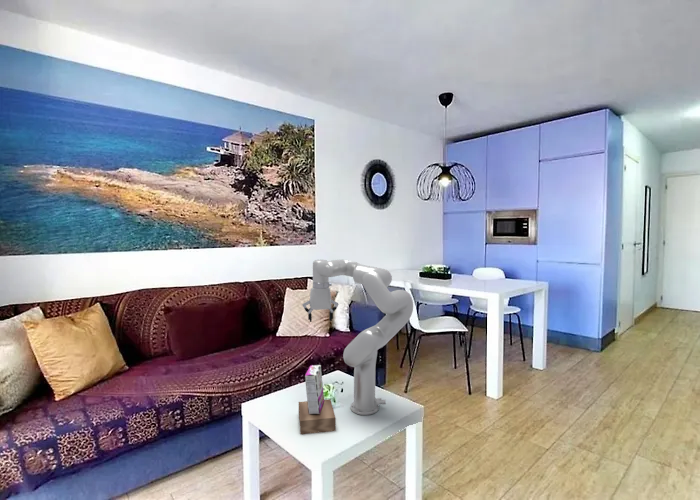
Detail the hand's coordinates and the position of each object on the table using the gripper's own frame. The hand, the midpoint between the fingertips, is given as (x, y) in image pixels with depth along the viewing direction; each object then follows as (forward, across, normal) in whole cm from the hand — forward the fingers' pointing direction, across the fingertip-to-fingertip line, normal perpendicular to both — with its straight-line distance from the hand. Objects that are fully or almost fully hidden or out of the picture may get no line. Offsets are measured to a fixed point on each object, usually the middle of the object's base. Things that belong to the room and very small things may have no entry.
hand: (320, 320), depth 179 cm
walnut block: (+37, +4, +26) cm, 45 cm away
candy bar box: (+31, +4, +25) cm, 40 cm away
